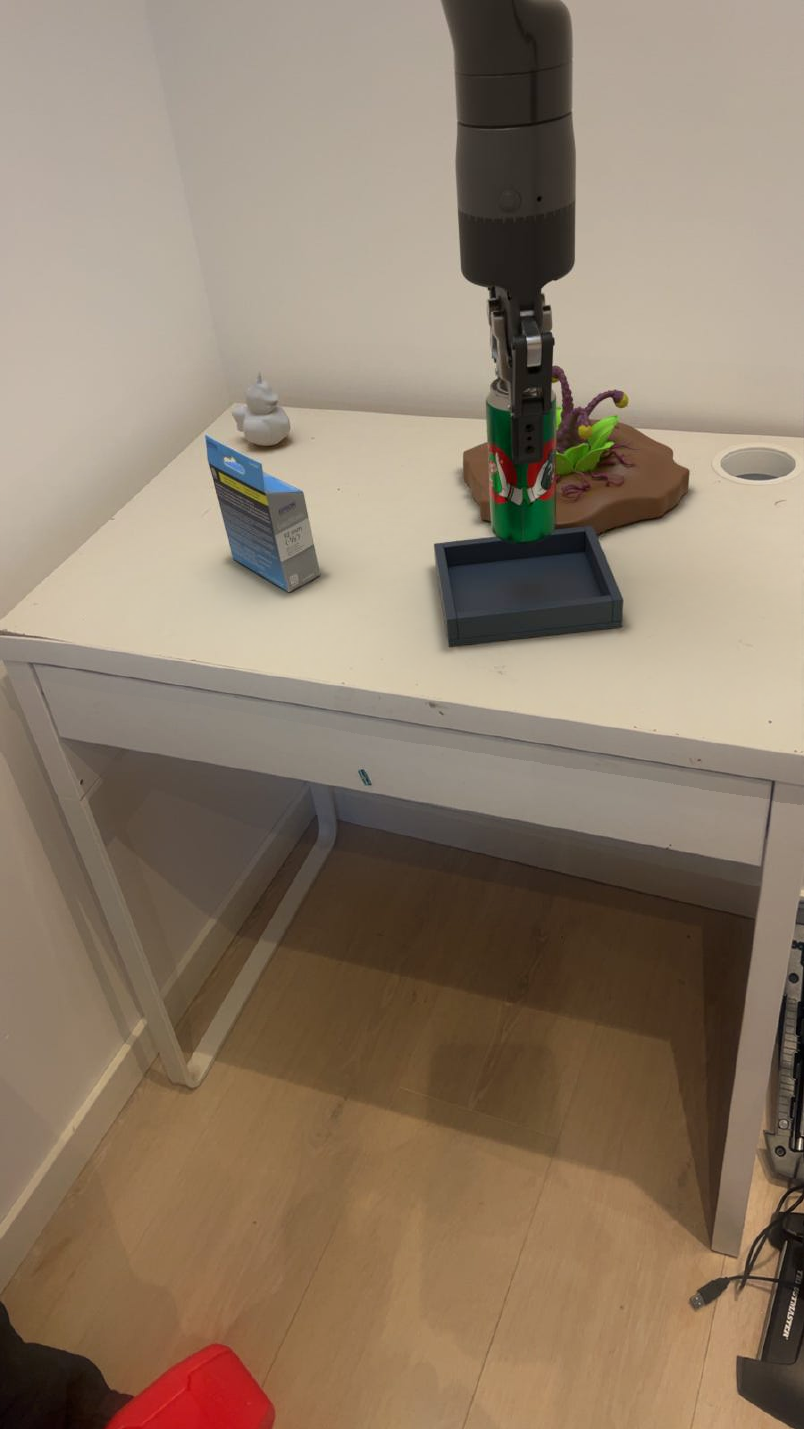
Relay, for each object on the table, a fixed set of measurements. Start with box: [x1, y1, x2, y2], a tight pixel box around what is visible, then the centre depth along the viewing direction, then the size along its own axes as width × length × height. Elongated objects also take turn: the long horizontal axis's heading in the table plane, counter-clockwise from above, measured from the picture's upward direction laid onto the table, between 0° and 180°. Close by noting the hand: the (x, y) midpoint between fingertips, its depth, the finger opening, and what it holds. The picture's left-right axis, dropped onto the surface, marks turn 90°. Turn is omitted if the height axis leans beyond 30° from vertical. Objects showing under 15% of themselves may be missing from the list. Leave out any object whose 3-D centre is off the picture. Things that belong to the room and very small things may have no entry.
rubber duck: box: [231, 371, 291, 447], centre depth 111 cm, size 5×7×8 cm
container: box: [433, 526, 624, 647], centre depth 85 cm, size 14×12×3 cm
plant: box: [462, 364, 690, 536], centre depth 96 cm, size 20×20×11 cm
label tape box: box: [204, 432, 321, 593], centre depth 89 cm, size 9×4×12 cm, turn 41°
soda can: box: [485, 377, 557, 545], centre depth 78 cm, size 5×5×12 cm
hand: (521, 443), depth 77 cm, fingers closed on soda can, 5 cm apart
